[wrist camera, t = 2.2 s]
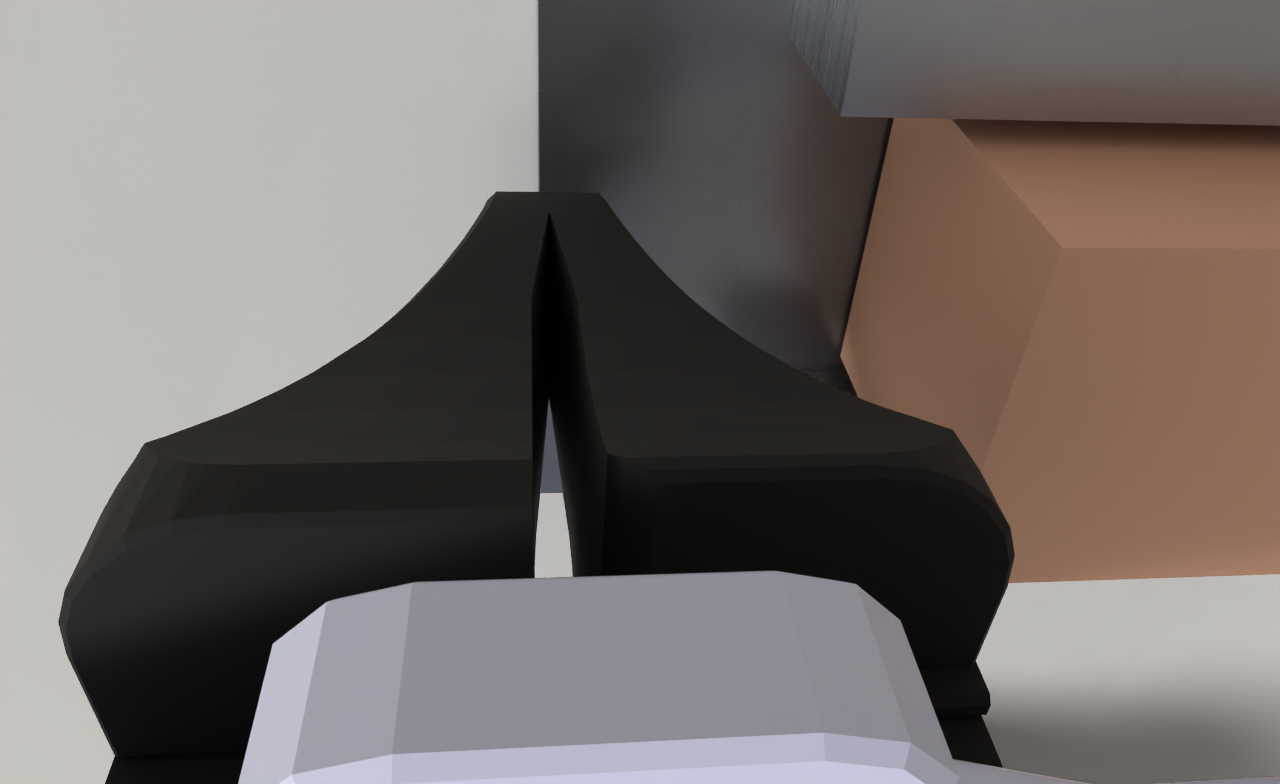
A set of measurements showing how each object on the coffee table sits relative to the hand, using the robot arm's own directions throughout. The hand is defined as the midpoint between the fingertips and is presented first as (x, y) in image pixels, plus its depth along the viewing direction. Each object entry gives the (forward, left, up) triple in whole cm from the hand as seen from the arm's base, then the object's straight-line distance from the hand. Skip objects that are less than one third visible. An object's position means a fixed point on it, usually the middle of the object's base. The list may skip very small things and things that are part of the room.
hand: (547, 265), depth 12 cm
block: (0, -7, -1) cm, 7 cm away
